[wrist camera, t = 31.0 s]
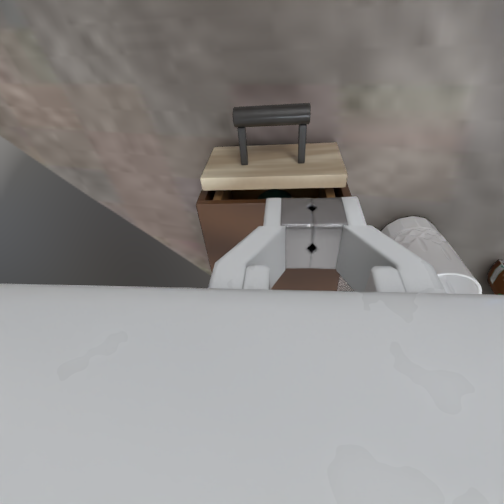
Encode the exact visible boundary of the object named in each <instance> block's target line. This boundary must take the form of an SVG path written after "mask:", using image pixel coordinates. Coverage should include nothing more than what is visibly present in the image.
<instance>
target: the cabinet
mask: <svg viewBox="0 0 504 504" xmlns="http://www.w3.org/2000/svg"><path fill="white" fill-rule="evenodd" d="M333 189H334V193H335V197H351V194H350V191H349V187H348V184H347V182H346V187H343V188H333ZM215 192H216V190H212V191H203V190H202V191H201V193H200V196H199V198H198V201H197V203H196V207H197V211H198V216H199V220H200V224H201V228H202V233H203V237H204V241H205V245H206V250H207V254H208V258H209V262H210V267H211V271H212V272H213V268H214V264H215V262H217V261H218V260H219V259H220V258H221V257H223V256H224V255H225V254H226V253H227V252H229V251H230V250H231V249H232V248H233V247H235V246H236V245H237V244H238V243H239V242H241V241H242V240H243V239H244V238H245V237H247V236H248V235H249V234H250V233H251V232H253V231H254V230H255V229H256V228H257V227H258V226H263V223H264V214H265V204H266V199H248V200H213V198H214V195H215ZM281 200H282V199H281ZM339 276H340V274H339V273H338V272H337V271H336V269H318V268H287V269H285V271H284V272H283V274H282V275H281V276H280V278H279V279H278V280H277V282H276V283H275V284H274V285H273V287H272V288H271V290H309V291H337V287H338V281H339Z"/></svg>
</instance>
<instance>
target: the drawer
mask: <svg viewBox="0 0 504 504" xmlns="http://www.w3.org/2000/svg"><path fill="white" fill-rule="evenodd" d="M233 122H234V126H235V127H236V128H237V127H238V138H239V146H234V147H214V149H213V151H212V153H211V155H210V158H209V160H208V162H207V164H206V167H205V169H204V171H203V173H202V176H201V178H200V180H201V185H202V190H203V191H212V190H216V192H215V195H214V198H213V200H248V199H257V198H258V197H259V196H260V195H261V194H262V193H263V192H265V191H267V190H271V189H279V190H283V191H285V192H287V193H288V194H290V195H291V197H292V198H334V197H335V193H334V189H333V188H343V187H346V182H347V176H348V174H347V171H346V168H345V165H344V163H343V160H342V157H341V154H340V151H339V148H338V145H337V143H336V142H335V143H310V144H306V129H307V125H306V124H309V123H310V103H301V104H283V105H265V106H246V107H234V108H233ZM279 125H299V136H298V144H284V145H259V146H247V140H246V128H245V127H258V126H279Z"/></svg>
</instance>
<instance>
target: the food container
mask: <svg viewBox="0 0 504 504" xmlns="http://www.w3.org/2000/svg"><path fill="white" fill-rule="evenodd" d="M487 281H488V283H489V285H490V287H491V289H492V290H493V292H494V294H495V295H504V261H503V260H498V261H497V262H496V263H495V264H494V265H493V266H492V267H491V269H490V271H489V273H488V278H487Z"/></svg>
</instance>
